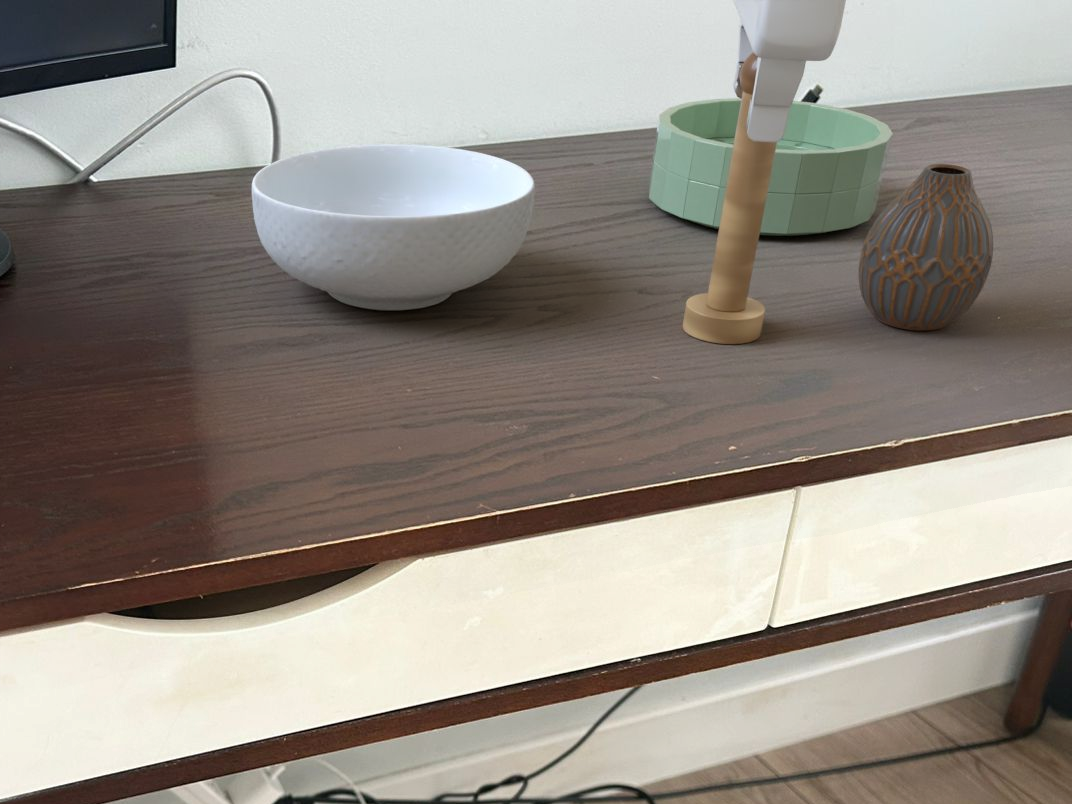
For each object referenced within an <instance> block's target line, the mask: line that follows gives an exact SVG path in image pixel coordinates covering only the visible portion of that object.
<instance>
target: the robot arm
mask: <svg viewBox="0 0 1072 804" xmlns="http://www.w3.org/2000/svg"><path fill="white" fill-rule="evenodd" d="M732 1H733V4H734V6H735V9H736V11H737V14H738V17H739V19H740V20H739V28H738V43H737V44H738V45H737V62H736V68H735V72H734V80H733V85H732V86H733V91H734V93H735V95H736V98H741V99H742V94H743V90H742V88H741V85H740V71H741V68H742V65H743V63H744V62H745V60H746V59H747V58H748V56H749V55H750V54H752V53H753V52H754V54H755V55H756V56H757V57H758V59H757V65H756V68H757V72H756V78H755V84H754V90H753V97H752V98H751V100H750V106H749V111H748V118H747V122H746V129H747V134H748V137H749V138H750V139H751V140H752V141H757V142H778V141H780V140H781V139H782V138H783V136H784V135H785V130H786V126H787V121H788V116H789V111H790V107H791V105H792V102H793V101H795V100H794V99H795V97H796V95H797V92H798V90H799V87H800V85H801V82H802V80H803V77H804V73H805V69H806V63H807V62H822V61H826V60H828V59H829V58H830V57H831V56H832V53H833V52H834V50H835V47H836V45H837V41H838V38H839V36H840V32H841V28H842V23H843V18H844V12H845V7H846V2H847V0H732Z"/></svg>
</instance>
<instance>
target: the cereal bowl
mask: <svg viewBox="0 0 1072 804" xmlns="http://www.w3.org/2000/svg"><path fill="white" fill-rule="evenodd" d="M535 183H536V182H535V180H534V178H533V176H532V175H531V174H530V173H529V171H527V170H526V169H524V168H523V167H522V166H520V165H518V164H516V163H514V162H511V161H509V160H506V159H504V158H500V157H497V156H494V155H489V154H486V153H482V152H479V151H478V152H477V151H474V150H473V151H472V150H467V149H462V148H456V147H455V148H454V147H447V146H446V147H445V146H439V145H437V146H435V145H425V144H403V143H402V144H401V143H400V144H399V143H382V144H361V145H359V144H358V145H348V146H338V147H337V146H336V147H329V148H321V149H317V150H311V151H306V152H302V153H297V154H294V155H290V156H288V157H284V158H280V159H279V160H276V161H273V162H271V163H269V164H268V165H266V166H264V167H263V168H261V169H260V170H259V171H258V172H256V174H255V175H254V177H253V179H252V181H251V200H252V201H251V203H252V204H251V206H252V212H253V220H254V224H255V229H256V231H257V235H258V238H259V240H260V244H261V245H262V247H263V248H264V250H265V251H266V253H267V254H268V256H269V257H270V258H271V260H272V261H273V262H274V263H275V264H276V265H277V266H278V267H279V268H280V269H282V270H283V271H284V272H285V273H287V274H288V275H289V276H290V277H292V278H294V279H296V280H298V281H299V282H301V283H304V284H306V285H307V286H311V287H313V288H314V289H319V290H321V291H324V292H326V293H327V294H328V295H329V296H331V297H332V298H333V299H335V300H336V301H338V302H341V303H342V304H345V305H348V306H351V307H356V308H361V309H366V310H373V311H375V310H376V311H408V310H418V309H424V308H428V307H431V306H435V305H437V304H440V303H442V302H444V301H445V300H447V299H448V298H449V297H450V296H452V294H453V293H456V292H458V291H462V290H466V289H468V288H471V287H473V286H475V285H478V284H480V283H483V282H484V281H486V280H489V279H490V278H491V277H492V276H495V275H496V274H498V272H499V271H501V270H503V269H504V268H505V266H506V265H508V264H509V263H510V262H511V261H512V259H513V258H514V257H515V256H516V255H517V254H518V252H519V250H520V248H521V247H522V245H523V244H524V241H525V239H526V237H527V233H528V230H529V227H530V225H531V223H532V222H531V219H532V217H533V212H534V210H533V209H534V203H535V193H536V184H535Z"/></svg>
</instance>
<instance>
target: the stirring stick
mask: <svg viewBox="0 0 1072 804" xmlns="http://www.w3.org/2000/svg"><path fill="white" fill-rule="evenodd" d="M757 59H758V57H757V56H756V55H755V54H754V52H753V53H752V54H750V55H749V56H748V58H747V59H746V60H745V62H744V63H743V65H742V68H741V71H740V85H741V88H742V90H743V94H742V99H741V105H740V111H739V117H738V122H737V128H736V134H735V140H734V145H733V151H732V157H731V163H730V168H729V174H728V180H727V186H726V191H725V197H724V203H723V209H722V214H721V220H720V226H719V229H718V232H717V237H716V244H715V249H714V254H713V259H712V266H711V271H710V272H711V273H710V279H709V284H708V291H707V292H705V293H698V294H695V295H692V296H690V297H689V298H688V299H687V300H686V302H685V308H684V313H683V314H684V315H683V320H682V330H683V331H684V332H685V333H686V334H688V335H689V336H691V337H693V338H694V339H697V340H699V341H700V340H701V341H704V342H708V343H713V344H721V345H740V344H741V345H742V344H747V343H751V342H755V341H756V340H758V339H759V338H760V336H761V334H762V330H763V325H764V319H765V315H766V307H765V306H764V304H762V303H761V302H760V301H758V300H756V299H754V298H751V297H749V292H750V288H751V287H750V286H751V281H752V277H753V271H754V265H755V259H756V255H757V250H758V244H759V240H760V235H759V234H760V229H761V224H762V219H763V213H764V208H765V203H766V198H767V192H768V187H769V182H770V177H771V171H772V166H773V161H774V156H775V150H776V145H777V142H757V141H752V140H751V139H750V138H749V137H748V134H747V129H746V122H747V118H748V111H749V106H750V100H751V98H752V97H753V90H754V84H755V78H756V72H757V68H756V65H757Z"/></svg>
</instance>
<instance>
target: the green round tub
mask: <svg viewBox="0 0 1072 804" xmlns="http://www.w3.org/2000/svg"><path fill="white" fill-rule="evenodd" d="M740 105H741V98H739V97H733V98H731V97H730V98H713V99H704V100H695V101H688V102H684V103H682V104H681V103H680V104H678V105H674V106H669V107H668V108H667V109H665V110H664V111H663V112H661V113H660V114H659V115H658V119H657V125H656V126H657V127H656V133H655V140H654V147H653V153H652V162H651V168H650V173H649V174H650V176H649V181H648V199H649V200H650V201H651V202H652V203H653V204H654V205H656V206H657V207H658V208H659V209H661V210H662V211H665V212H667V213H669V214H671V215H674V216H676V217H678V218H681V219H683V220H687V221H689V222H692V223H695V224H696V225H697V224H698V225H701V226H704V227H707V228H712V229H715V230H716V229H717V230H719V226H720V220H721V214H722V209H723V203H724V197H725V191H726V186H727V180H728V174H729V168H730V163H731V157H732V151H733V145H734V140H735V134H736V128H737V122H738V117H739V111H740ZM893 136H894V133H893V132H892V130H891V129H890V126H889V125H888V124H886V123H884V122H883V121H880V120H879V119H876V118H875V117H872V116H870V115H867V114H864V113H861V112H857V111H854V110H851V109H848V108H842V107H837V106H833V105H826V104H821V103H817V102H809V101H801V100H800V101H799V100H793V102H792V105H791V107H790V111H789V116H788V121H787V126H786V130H785V135H784V136H783V138H782V139H781V140H780V141H778V142H777V145H776V150H775V156H774V161H773V166H772V171H771V177H770V182H769V187H768V192H767V198H766V203H765V208H764V213H763V219H762V224H761V229H760V234H759V236H770V237H771V236H774V237H783V236H784V237H792V236H793V237H794V236H809V235H816V234H823V233H828V232H833V231H841V230H845V229H852V228H854V227H856V226H858V225H861V224H863V223H866V222H869V220H870V219H871V218H872V216H873V215H874V213H875V212H876V208H877V204H878V200H879V196H880V192H881V187H882V184H883V179H884V175H885V174H884V173H885V171H886V166H887V162H888V157H889V153H890V149H891V145H892V140H893Z"/></svg>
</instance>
